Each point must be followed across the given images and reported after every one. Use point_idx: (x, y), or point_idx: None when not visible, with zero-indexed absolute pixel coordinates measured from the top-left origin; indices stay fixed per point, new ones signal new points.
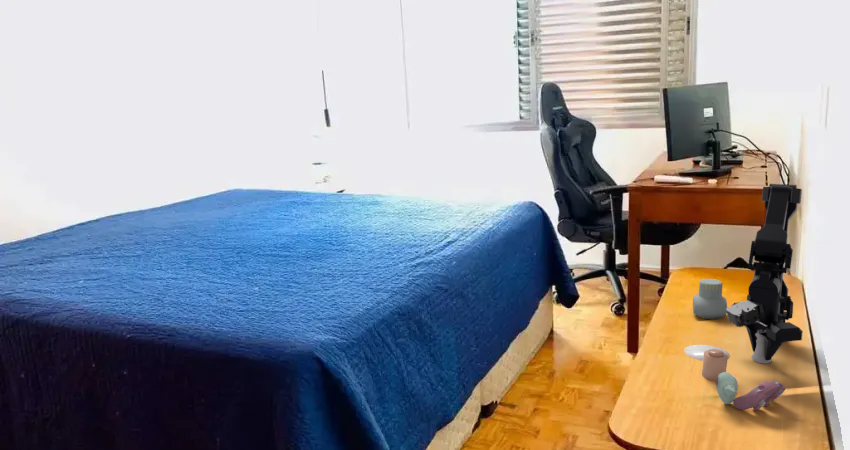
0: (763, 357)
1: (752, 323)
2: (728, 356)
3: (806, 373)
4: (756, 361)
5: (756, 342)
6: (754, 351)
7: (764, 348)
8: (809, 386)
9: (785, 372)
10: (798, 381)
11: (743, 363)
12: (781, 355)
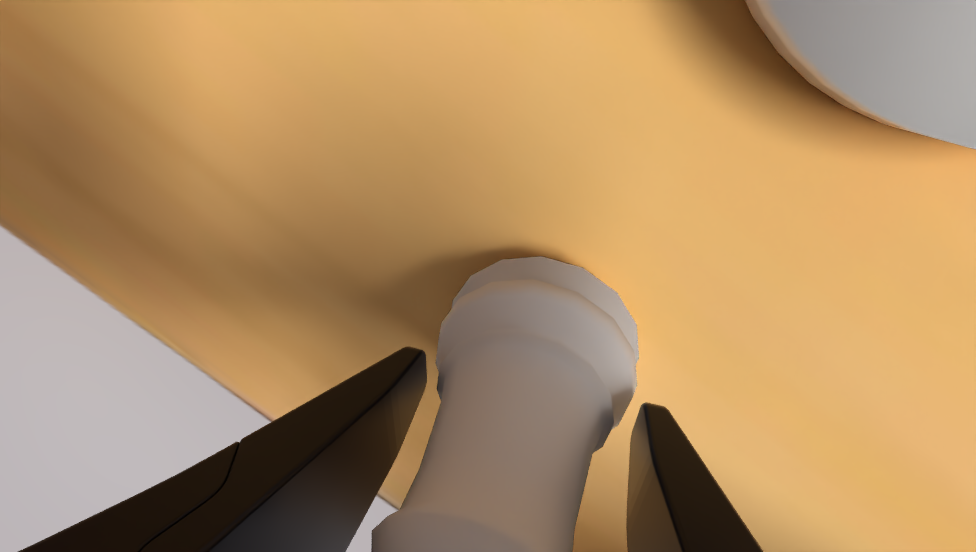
0: (444, 360)
1: None
2: (827, 40)
3: None
4: (492, 283)
5: (653, 549)
6: (642, 409)
7: (321, 439)
8: (187, 331)
9: (368, 364)
10: (242, 330)
11: (615, 189)
12: None
